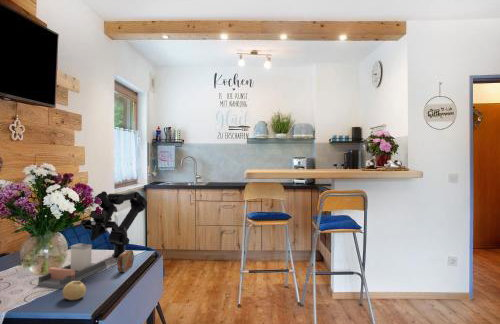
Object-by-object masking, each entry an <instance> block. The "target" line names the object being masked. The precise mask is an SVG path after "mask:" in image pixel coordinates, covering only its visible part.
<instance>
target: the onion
mask: <svg viewBox="0 0 500 324" xmlns="http://www.w3.org/2000/svg"><path fill="white" fill-rule="evenodd" d="M81 280H82V279H80V280H79V281H72V282H70V283H68V284H67V285H66V286H65V287H64V288H63V289H62V292H61V294H62V297H63V298H64V299H65V300H66V301H77V300H80V299H81V298H83V297H84V296H85V295H86V292H87V287H86V285H85V284H84V283H83V282H82V281H81Z"/></svg>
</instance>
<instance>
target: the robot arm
mask: <svg viewBox="0 0 500 324" xmlns="http://www.w3.org/2000/svg"><path fill="white" fill-rule="evenodd" d="M96 197H99V198H100V199H101V201H102V204H101V205H98V206H99V208H100V209H101V211H102V214H100V216H99V215H97V214H96V213H95V211H96V210H91V211H90V214H89V218H92V220H91V219H81V222H80V223H79V224H80V225H81V226H82V228H83V229H85V230H87V231H91V232H90V234H91V235H90V241H91V242H93V241H95V240H96V239H97V238H99V237H100V236H102V235H103V234H105V233H106V234H107V232H108V229H111V230H110V233H109V235H108V239H109V245H113V253H112V257H113V258H118V257H119V255H121V254H122V253H123V252H125V251H126V246H128V245H130V238H129V237H128V230H129V229H130V227H131V226H132V224H133V223H134V220H135V219H136V217H137V216H138V215H139V213H141V212H143V211H144V210H145V209H146V208H147V206H148V201H147V200H146V198H145V197H144V196H143V195H142V194H140V192H139V191H133V190H132V191H129V192H124V193H107V191H101V192H100V193H98V194H96V195H95V197H94V199H95V198H96ZM126 201H129V203H130V208H129V209H130V210H129V211H128V213H127V214H126V216H125V217H124V219H122V222H121V223H120V224H119V225H118V223H117V222H116V221H113V220H112V219H113V218H112V217H113V215H114V213H117V212H118V209H117V206H115V205H118V206H120V205H122V204H123V203H124V202H126Z"/></svg>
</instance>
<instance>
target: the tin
mask: <svg viewBox="0 0 500 324" xmlns="http://www.w3.org/2000/svg"><path fill="white" fill-rule="evenodd" d="M134 260H135V256H134V251H133V250H132V249H129V250H128V249H125V252H123V253H122V254H121V255H119V257H117V261H116V262H117V270H118V273H126V272H127V271H129V270H130V269H131V267H133V264H134Z"/></svg>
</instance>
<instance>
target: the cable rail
mask: <svg viewBox="0 0 500 324" xmlns="http://www.w3.org/2000/svg"><path fill="white" fill-rule="evenodd" d="M106 263H107V261H106V259H104V260H101V261H99V262H97V263H95V262H91V266H89V267H87V268H85V269H83V270H80V271H76V270H73V269H71V263H70V264H68V265H65V266H63V267H54V266H51V267H49V268H48V271H47V272H48V273H45V274H43V275H40V276H38V282H37V285H38V286H41V287H48V288H54V289H62V290H63V289H64V287H65V286H66V285H67V284H68V283H70V282H72V281H81V280H83V279H86V278H88V277H90V276H92V275H94V274H97V273H98V272H101V271H102V270H104V269H106V268H107V264H106ZM80 279H81V280H80Z"/></svg>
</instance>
